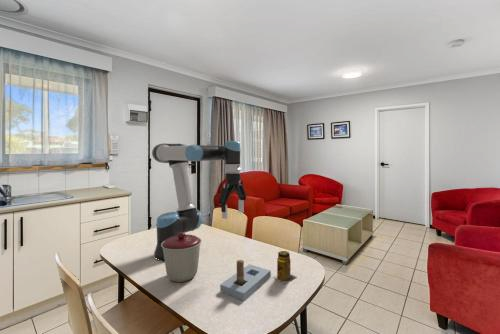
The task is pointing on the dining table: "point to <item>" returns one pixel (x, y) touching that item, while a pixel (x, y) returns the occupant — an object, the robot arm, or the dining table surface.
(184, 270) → the canister
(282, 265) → the condiment
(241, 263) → the peg
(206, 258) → the dining table surface
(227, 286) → the hole block
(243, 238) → the dining table surface
